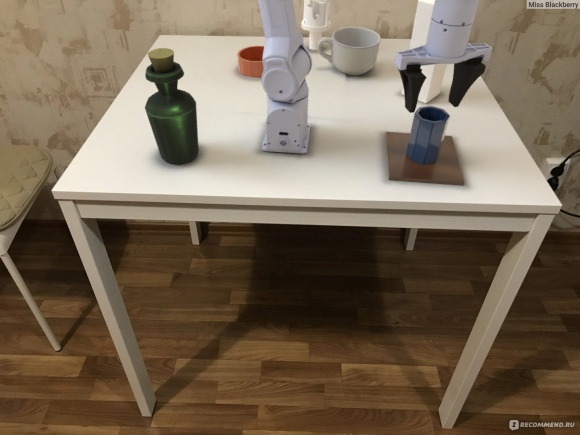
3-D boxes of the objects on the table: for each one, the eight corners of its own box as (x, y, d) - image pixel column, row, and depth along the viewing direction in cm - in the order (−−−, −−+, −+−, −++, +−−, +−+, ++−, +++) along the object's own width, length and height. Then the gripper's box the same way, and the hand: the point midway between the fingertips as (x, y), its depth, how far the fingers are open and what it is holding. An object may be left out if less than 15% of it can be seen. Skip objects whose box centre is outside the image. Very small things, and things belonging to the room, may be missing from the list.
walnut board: (463, 185, 74) (464, 182, 73) (388, 179, 75) (389, 176, 74) (451, 138, 84) (452, 135, 84) (385, 134, 85) (385, 131, 85)
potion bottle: (194, 170, 77) (177, 66, 64) (148, 165, 78) (123, 62, 65) (209, 143, 82) (195, 44, 70) (166, 139, 83) (145, 40, 71)
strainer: (295, 49, 114) (296, -16, 104) (312, 41, 118) (315, -22, 108) (317, 57, 111) (320, -10, 101) (334, 48, 115) (339, -17, 105)
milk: (426, 104, 94) (452, -12, 79) (400, 94, 97) (420, -19, 82) (440, 93, 97) (467, -20, 82) (415, 84, 100) (437, -26, 85)
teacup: (375, 61, 109) (380, 27, 104) (377, 81, 101) (382, 45, 96) (317, 58, 110) (318, 24, 105) (314, 78, 102) (316, 43, 97)
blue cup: (415, 166, 77) (424, 124, 71) (402, 149, 80) (410, 108, 75) (443, 161, 78) (454, 120, 72) (429, 145, 81) (439, 104, 76)
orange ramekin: (275, 80, 101) (274, 63, 99) (235, 78, 102) (233, 60, 99) (280, 63, 108) (280, 46, 105) (242, 61, 109) (241, 44, 106)
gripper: (482, 5, 68) (459, 90, 77) (392, 13, 65) (379, 100, 75) (510, 22, 63) (482, 110, 72) (414, 31, 60) (397, 121, 70)
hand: (431, 106), depth 73 cm, fingers open, 7 cm apart
